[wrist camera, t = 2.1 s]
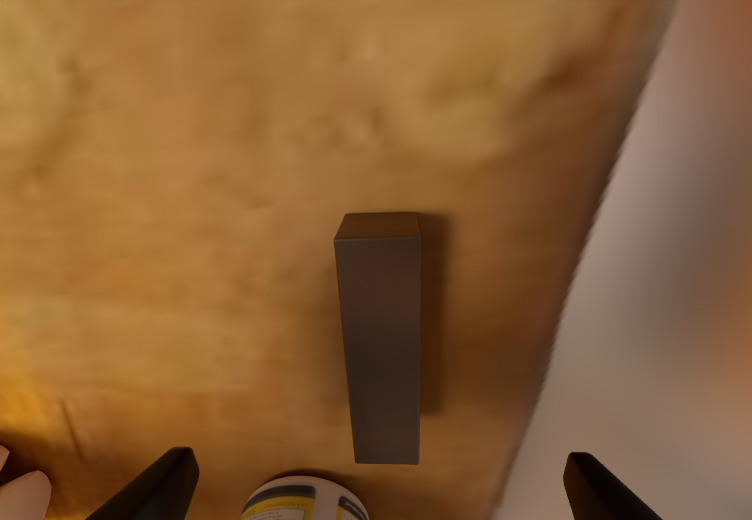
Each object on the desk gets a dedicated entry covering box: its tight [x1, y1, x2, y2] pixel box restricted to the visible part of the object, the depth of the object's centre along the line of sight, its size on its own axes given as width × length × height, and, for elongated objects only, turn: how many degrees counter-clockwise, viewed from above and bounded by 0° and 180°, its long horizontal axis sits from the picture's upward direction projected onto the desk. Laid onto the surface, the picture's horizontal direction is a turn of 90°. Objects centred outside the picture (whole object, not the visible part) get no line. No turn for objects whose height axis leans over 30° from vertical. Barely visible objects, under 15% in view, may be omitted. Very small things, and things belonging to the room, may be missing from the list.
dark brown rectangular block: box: [334, 212, 422, 465], centre depth 12 cm, size 9×2×2 cm, turn 2°
